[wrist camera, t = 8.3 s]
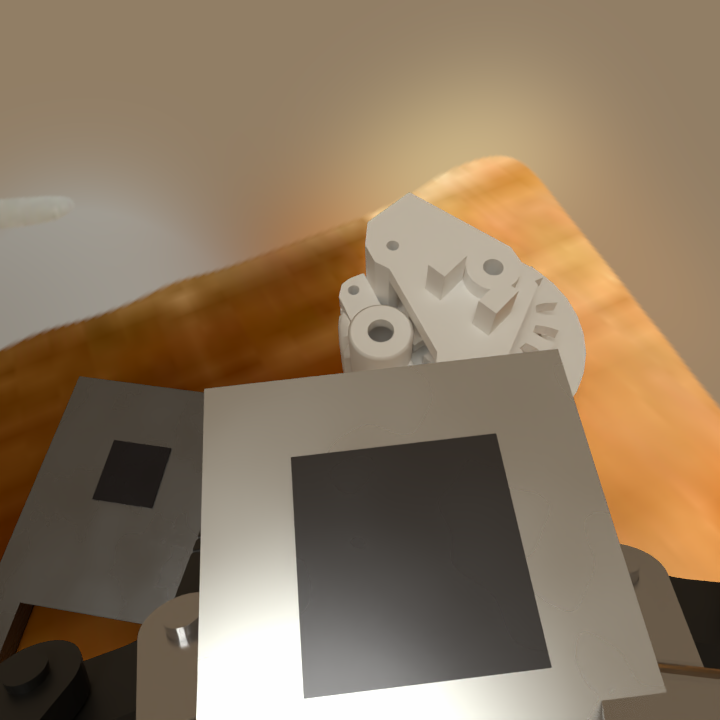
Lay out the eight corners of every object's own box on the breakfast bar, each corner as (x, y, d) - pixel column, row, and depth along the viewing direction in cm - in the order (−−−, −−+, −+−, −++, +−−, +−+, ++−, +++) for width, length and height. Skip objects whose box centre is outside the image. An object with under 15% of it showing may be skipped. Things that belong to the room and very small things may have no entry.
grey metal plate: (101, 988, 21) (85, 1008, 20) (-136, 929, 22) (-165, 945, 21) (253, 406, 32) (248, 397, 31) (89, 385, 33) (78, 375, 32)
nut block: (314, 720, 14) (189, 857, 5) (303, 535, 16) (201, 385, 7) (494, 698, 14) (701, 789, 5) (459, 516, 16) (559, 344, 7)
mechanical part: (593, 427, 31) (705, 312, 20) (397, 516, 29) (407, 442, 18) (491, 276, 35) (538, 120, 25) (317, 344, 34) (289, 206, 23)
